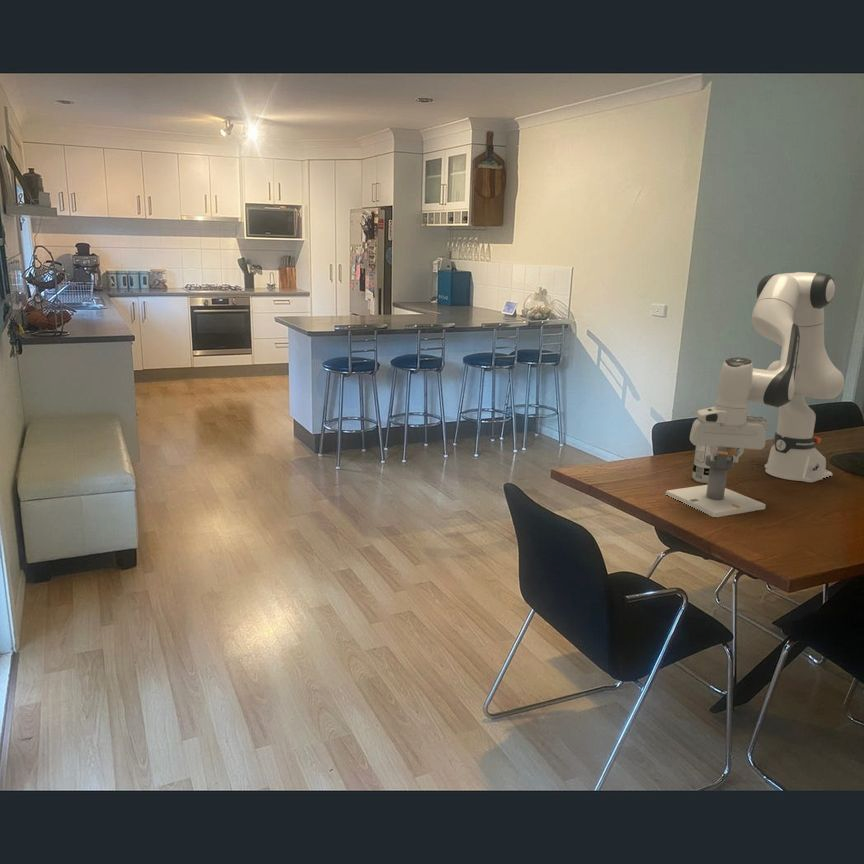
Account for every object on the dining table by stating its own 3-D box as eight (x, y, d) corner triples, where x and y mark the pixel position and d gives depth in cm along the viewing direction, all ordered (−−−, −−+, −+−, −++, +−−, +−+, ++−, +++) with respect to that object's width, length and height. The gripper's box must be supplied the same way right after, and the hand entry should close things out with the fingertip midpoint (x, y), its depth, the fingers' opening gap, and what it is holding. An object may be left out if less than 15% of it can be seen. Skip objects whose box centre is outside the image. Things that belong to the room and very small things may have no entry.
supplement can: (694, 475, 239) (699, 432, 235) (719, 479, 235) (725, 436, 231) (689, 481, 232) (694, 437, 228) (715, 486, 228) (721, 441, 224)
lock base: (713, 488, 226) (718, 453, 223) (764, 509, 208) (770, 472, 206) (665, 495, 218) (669, 459, 215) (714, 517, 201) (719, 479, 198)
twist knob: (704, 459, 215) (707, 438, 214) (732, 463, 213) (736, 441, 211) (705, 473, 202) (708, 450, 200) (735, 476, 199) (738, 453, 198)
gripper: (765, 414, 201) (758, 460, 205) (691, 410, 204) (685, 456, 208) (772, 420, 195) (765, 467, 199) (696, 415, 198) (690, 462, 202)
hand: (724, 461), depth 203 cm, fingers open, 4 cm apart
